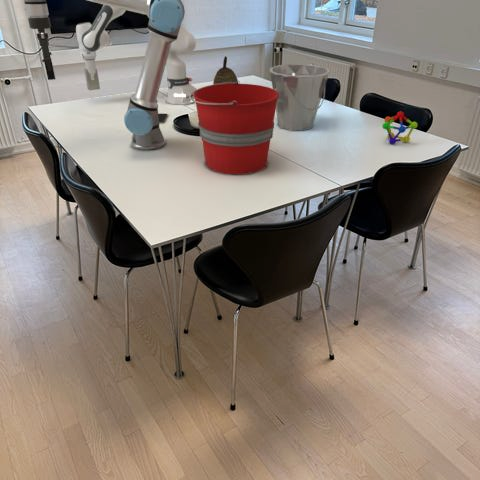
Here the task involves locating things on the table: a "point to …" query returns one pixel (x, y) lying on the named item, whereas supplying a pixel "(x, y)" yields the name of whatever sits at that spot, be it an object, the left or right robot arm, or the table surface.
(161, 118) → the smartphone
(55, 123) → the table surface
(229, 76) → the bell
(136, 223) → the table surface
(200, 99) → the bucket
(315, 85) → the bucket
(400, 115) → the educational toy
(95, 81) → the brick
